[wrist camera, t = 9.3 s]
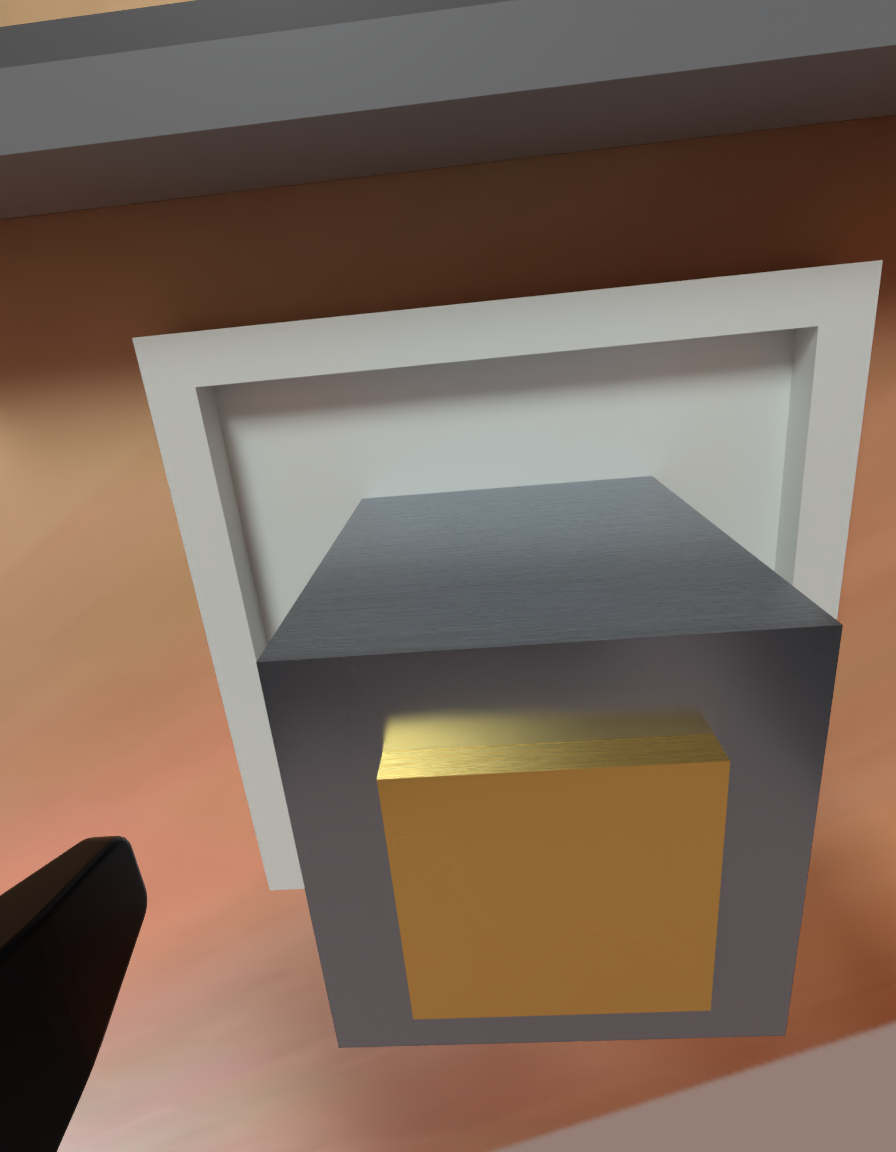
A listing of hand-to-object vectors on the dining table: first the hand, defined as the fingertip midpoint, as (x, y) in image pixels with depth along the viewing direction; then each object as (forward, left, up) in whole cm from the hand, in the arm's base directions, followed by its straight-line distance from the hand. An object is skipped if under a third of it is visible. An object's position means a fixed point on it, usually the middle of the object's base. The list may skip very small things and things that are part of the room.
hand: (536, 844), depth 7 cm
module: (0, 0, -6) cm, 6 cm away
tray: (0, 0, -6) cm, 6 cm away
